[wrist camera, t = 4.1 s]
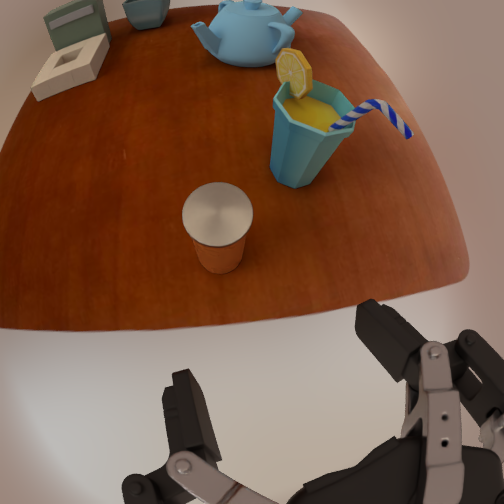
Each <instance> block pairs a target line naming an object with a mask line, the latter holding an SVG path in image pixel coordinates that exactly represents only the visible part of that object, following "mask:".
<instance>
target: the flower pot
mask: <svg viewBox="0 0 504 504" xmlns="http://www.w3.org/2000/svg"><path fill="white" fill-rule="evenodd" d="M122 5H123V8H124V10H125V13H126V16H127V18H128V21H129V22H130V23H131V25H132V26H134V27H135V28H136V29H138V30H143V29H148V28H155V27H160V26H161V24H162V22H163V21H164V19H165V17H166V15H167V12H168V10H169V5H170V0H126V1H125V2H124V3H123V4H122Z"/></svg>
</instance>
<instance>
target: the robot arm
mask: <svg viewBox="0 0 504 504" xmlns="http://www.w3.org/2000/svg"><path fill="white" fill-rule="evenodd" d="M355 331H356V334H357V336H358V337H359V339H360V340H361V341H362V342H363V343H364V344H365V346H366V347H367V348H368V349H369V350H370V352H371V353H372V354H373V355H374V356H375V357H376V359H377V360H378V361H379V362H380V363H381V365H382V366H383V367H384V368H385V369H386V370H387V371H388V373H389V374H390V375H391V376H392V378H393V379H394V380H395V381H396V382H397V383H398V382H399V381H401V380H402V379H405V380H406V381H407V382H406V404H405V407H406V408H405V419H404V423H403V426H402V430H401V438H399V439H396V437H395V436H393V437H392V438H390V439H389V440H387V441H386V442H384V443H383V444H381V445H379V446H378V447H376V448H375V449H373V450H372V451H371V452H370V453H369V454H368V455H367V456H366V457H365V458H364V459H363V460H362V461H361V462H359V463H358V464H357V465H356V466H354V467H351V468H348V469H344V470H340V471H336V472H332V473H328V474H325V475H323V476H321V477H319V478H316V479H314V480H312V481H309V482H307V483H305V484H303V488H302V489H300V490H299V491H297V492H296V493H295V494H294V495H293V496H292V497H291V498H290V499H289V501H288V502H287V504H504V479H503V473H502V463H503V462H504V360H503V359H502V358H501V357H500V356H499V354H498V353H497V352H496V351H495V350H494V349H493V348H492V347H491V346H490V345H489V344H488V343H487V342H486V341H485V340H484V339H483V338H482V337H481V336H480V335H479V334H478V333H477V332H475V331H473V330H470V329H469V330H468V329H467V330H463V331H462V332H461V333H460V334H459V337H458V339H457V340H454V341H451V342H448V343H445V344H442V343H440V342H437V341H430V342H429V341H428V340H426V339H425V338H424V337H423V336H422V335H421V334H420V333H419V332H418V331H417V330H416V329H415V328H414V327H413V326H412V325H411V324H410V323H409V322H406V320H405V319H404V318H403V317H402V316H400V314H399V313H397V311H395V309H393V308H391V307H389V306H387V305H385V304H383V305H382V306H381V305H379V304H378V303H377V302H376V301H375V300H374V299H369V300H367V301H365V302H363V303H361V304H359V305H357V310H356V320H355ZM469 366H470V368H471V369H472V370H473V371H474V372H475V373H476V374H477V375H478V377H479V378H480V379H481V381H482V383H481V382H480V381H479V380H478V379H477V378H476V376H475V375H474V374H473V373H472V372H471V371H470V370H469ZM172 379H173V386H169V387H166V388H165V390H164V393H163V396H162V403H163V409H164V418H165V425H166V431H167V437H168V443H169V449H170V454H169V458H168V460H167V462H166V463H165V464H164V465H163V466H162V467H161V468H159V469H157V470H155V471H153V472H151V473H149V474H147V475H145V476H144V475H141V474H131V475H129V476H127V477H126V478H125V479H124V481H123V483H122V493H123V498H124V502H125V504H186V503H188V502H190V501H192V500H194V499H196V498H198V499H199V500H201V501H202V502H204V503H205V504H279V503H277V502H274V501H272V500H270V499H268V498H266V497H264V496H262V495H261V494H259V493H257V492H255V491H253V490H251V489H249V488H248V487H246V486H244V485H242V484H240V483H238V482H236V481H235V480H233V479H232V478H230V477H228V476H227V475H225V474H223V473H222V472H220V471H219V470H218V467H217V464H216V462H218V461H221V460H222V458H221V455H220V451H219V448H218V445H217V441H216V438H215V434H214V431H213V428H212V424H211V420H210V417H209V413H208V409H207V406H206V402H205V398H204V395H203V392H202V390H201V388H200V386H199V384H198V383H197V381H196V379H195V378H194V376H193V374H192V373H191V371H190V370H189V369H185V370H181V371H178V372H174V373H172ZM460 402H461V403H462V404H463V406H464V407H465V408H466V410H467V411H468V412H469V413H470V415H471V416H472V417H473V419H474V420H475V421H476V423H477V424H478V425H479V427H480V435H479V441H480V442H482V443H483V448H479V447H471V446H463V445H462V430H461V409H460Z"/></svg>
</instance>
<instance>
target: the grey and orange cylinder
mask: <svg viewBox="0 0 504 504" xmlns="http://www.w3.org/2000/svg"><path fill="white" fill-rule="evenodd" d="M182 219H183V224H184V227H185V229H186V231H187V233H188V234H189V236H190V237H191V238H192V241H193V244H194V247H195V250H196V253H197V255H198V258H199V261H200V263H201V264H202V266H203V267H204V268H205V269H206V270H208V271H210V272H212V273H216V274H224V273H228V272H230V271H232V270H234V269H235V268H236V267H237V266H238V265H239V263H240V261H241V259H242V255H243V250H244V245H245V240H246V235H247V232H248V231H249V229H250V227H251V224H252V219H253V208H252V204H251V202H250V200H249V198H248V197H247V195H246V194H245V193H244V192H243V191H242V190H240V189H239V188H237V187H236V186H234V185H231V184H228V183H222V182H215V183H209V184H205V185H203V186H201V187H199V188H197V189H196V190H195V191H193V192H192V193H191V194H190V196H189V197H188V198H187V200H186V202H185V204H184V207H183V211H182Z"/></svg>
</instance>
